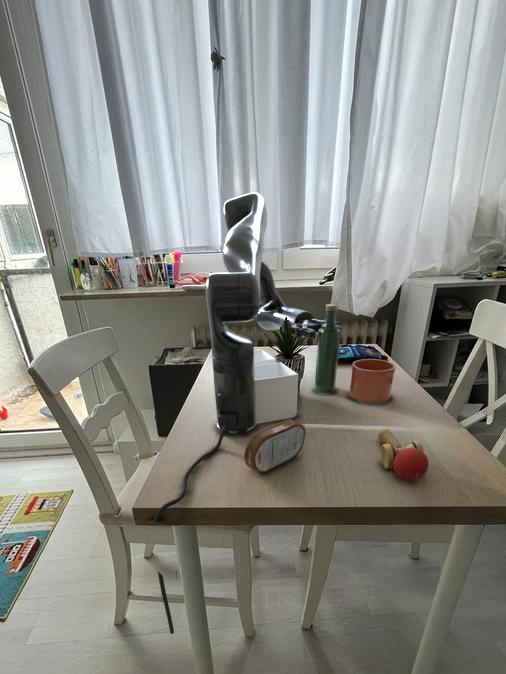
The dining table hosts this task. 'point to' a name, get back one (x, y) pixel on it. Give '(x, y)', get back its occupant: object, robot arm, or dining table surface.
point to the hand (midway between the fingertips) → (327, 333)
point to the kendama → (403, 457)
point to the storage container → (273, 389)
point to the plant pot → (371, 380)
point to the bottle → (327, 352)
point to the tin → (274, 445)
